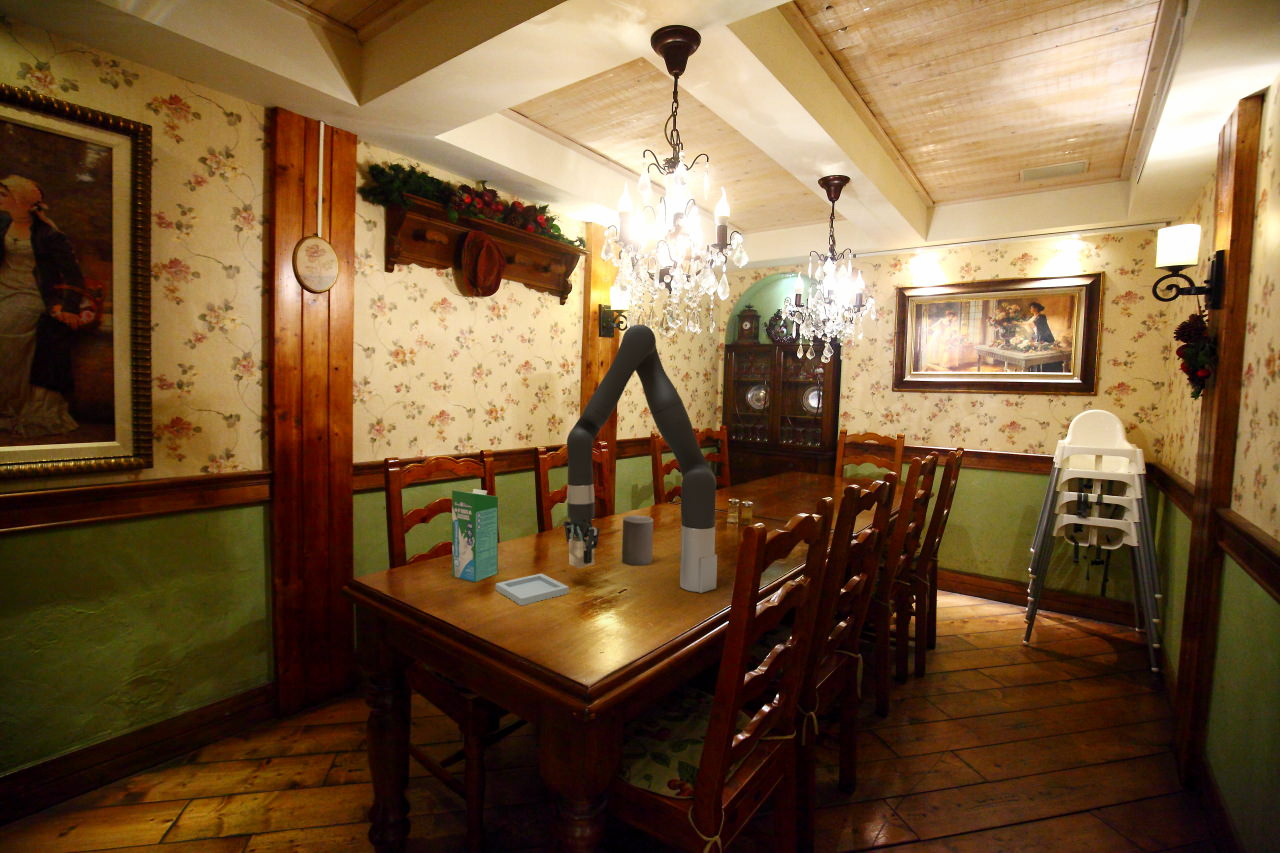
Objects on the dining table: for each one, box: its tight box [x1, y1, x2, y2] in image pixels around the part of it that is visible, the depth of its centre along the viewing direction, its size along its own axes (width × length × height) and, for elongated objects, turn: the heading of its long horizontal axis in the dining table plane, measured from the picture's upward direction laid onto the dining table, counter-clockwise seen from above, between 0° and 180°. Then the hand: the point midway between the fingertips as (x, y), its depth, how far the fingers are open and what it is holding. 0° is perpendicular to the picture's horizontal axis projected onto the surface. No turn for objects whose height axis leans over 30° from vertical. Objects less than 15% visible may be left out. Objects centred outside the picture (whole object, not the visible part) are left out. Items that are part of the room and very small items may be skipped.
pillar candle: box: [621, 514, 654, 566], centre depth 181 cm, size 10×10×15 cm
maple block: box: [568, 537, 595, 569], centre depth 159 cm, size 5×5×7 cm
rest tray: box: [495, 572, 570, 606], centre depth 153 cm, size 14×14×2 cm
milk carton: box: [451, 488, 499, 583], centre depth 165 cm, size 9×9×25 cm
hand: (581, 560), depth 159 cm, fingers closed on maple block, 5 cm apart
